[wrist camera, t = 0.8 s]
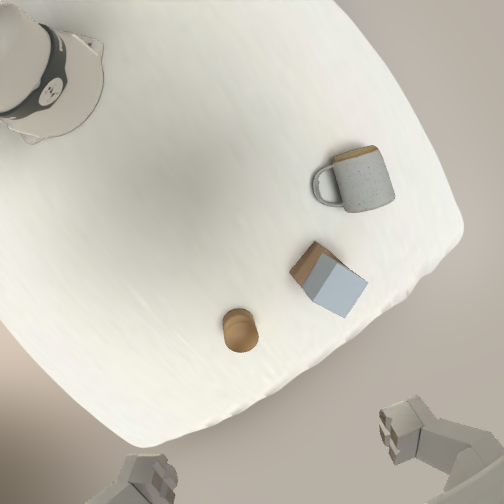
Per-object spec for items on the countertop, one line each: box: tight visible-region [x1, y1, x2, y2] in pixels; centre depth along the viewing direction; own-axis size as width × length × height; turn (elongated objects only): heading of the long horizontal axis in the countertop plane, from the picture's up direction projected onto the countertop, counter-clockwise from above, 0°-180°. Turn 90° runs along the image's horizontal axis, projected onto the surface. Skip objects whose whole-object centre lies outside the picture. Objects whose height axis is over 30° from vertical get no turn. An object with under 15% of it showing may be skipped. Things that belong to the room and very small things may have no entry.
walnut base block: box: [290, 241, 349, 286], centre depth 43 cm, size 6×6×5 cm
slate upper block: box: [301, 253, 368, 318], centre depth 38 cm, size 6×6×5 cm
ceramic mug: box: [313, 145, 395, 213], centre depth 39 cm, size 11×8×8 cm
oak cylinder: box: [223, 309, 259, 353], centre depth 44 cm, size 5×5×5 cm
